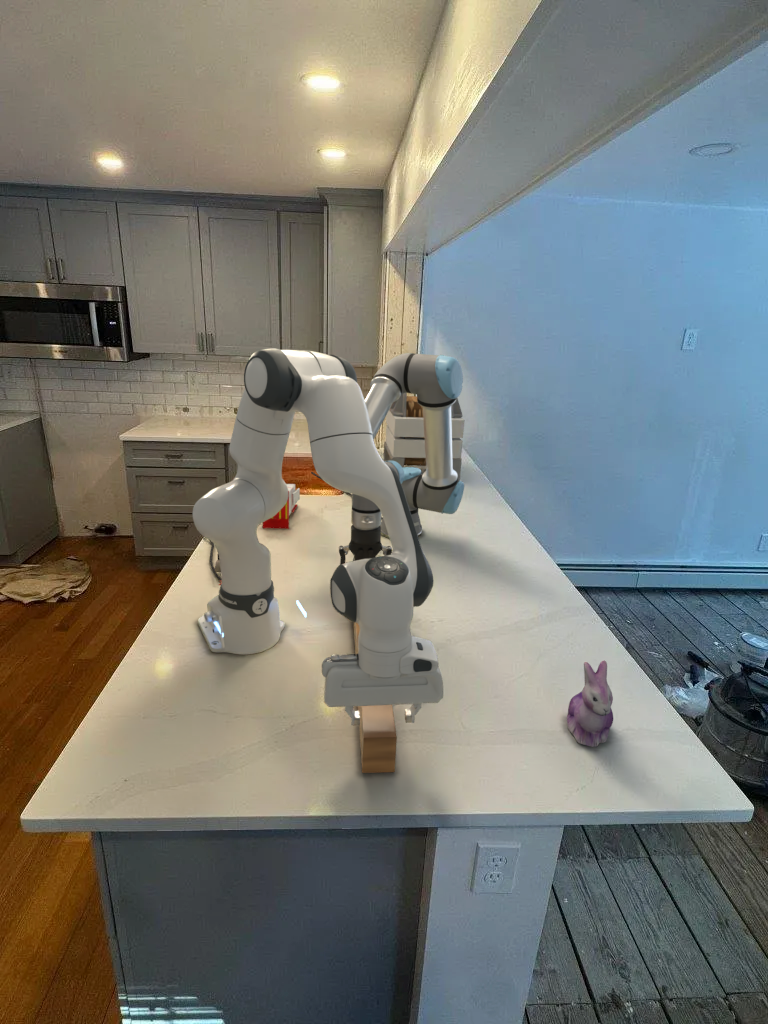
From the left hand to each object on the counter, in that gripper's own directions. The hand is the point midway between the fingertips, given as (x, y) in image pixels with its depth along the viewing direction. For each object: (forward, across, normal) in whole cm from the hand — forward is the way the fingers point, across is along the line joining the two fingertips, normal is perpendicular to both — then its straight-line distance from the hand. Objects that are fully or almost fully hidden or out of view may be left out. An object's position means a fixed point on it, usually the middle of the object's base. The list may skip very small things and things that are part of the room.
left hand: (382, 721), depth 99 cm
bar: (+7, -1, +26) cm, 27 cm away
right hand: (+6, 0, +52) cm, 52 cm away
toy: (+6, -27, +122) cm, 125 cm away
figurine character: (+6, -38, +75) cm, 84 cm away
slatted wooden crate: (+6, +35, +182) cm, 186 cm away
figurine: (+8, +40, +4) cm, 41 cm away
